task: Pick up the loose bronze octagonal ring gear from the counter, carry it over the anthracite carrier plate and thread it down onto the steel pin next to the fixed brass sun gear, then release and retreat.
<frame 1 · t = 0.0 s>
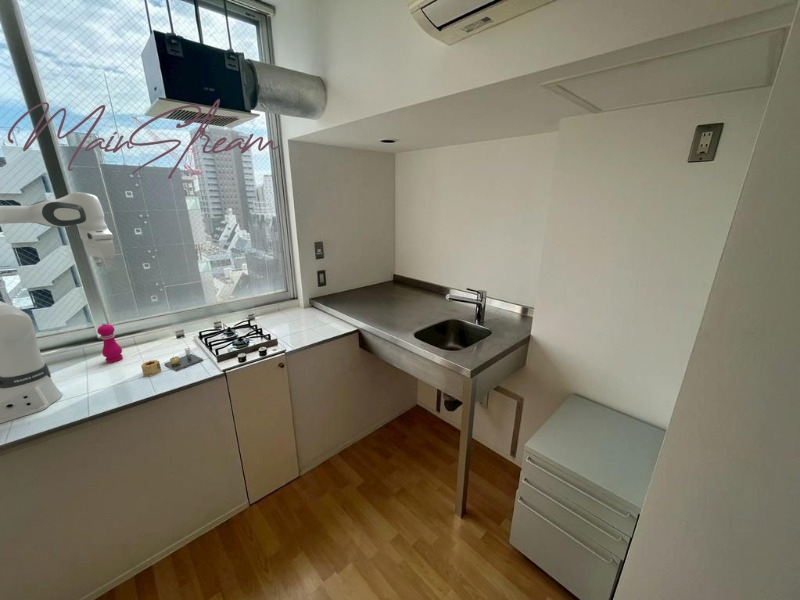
hand: (104, 267, 133), 48 cm above the worktop, fingers open, 8 cm apart
planet gear: (152, 372, 143), on the worktop
pepper mill: (114, 360, 155), on the worktop
carrier: (184, 362, 152), on the worktop
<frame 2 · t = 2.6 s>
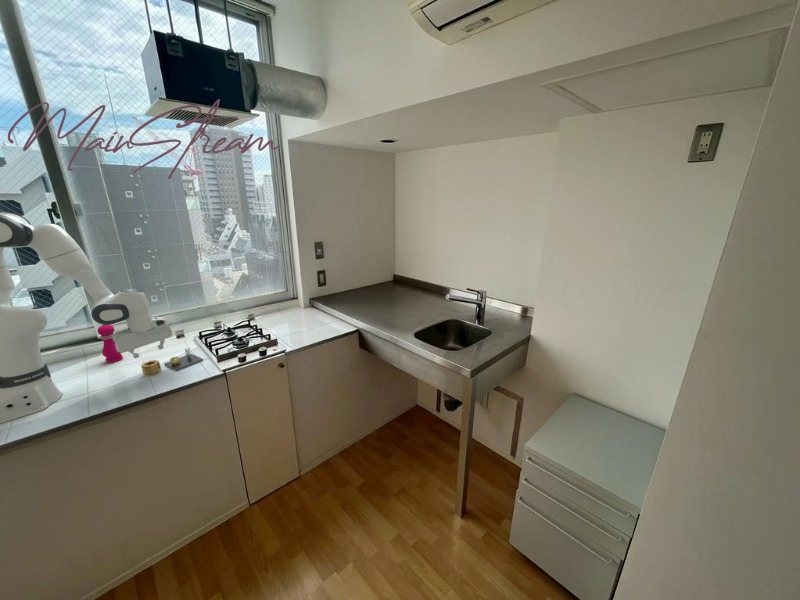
hand: (149, 353, 141), 9 cm above the worktop, fingers open, 8 cm apart
nothing on the worktop moved.
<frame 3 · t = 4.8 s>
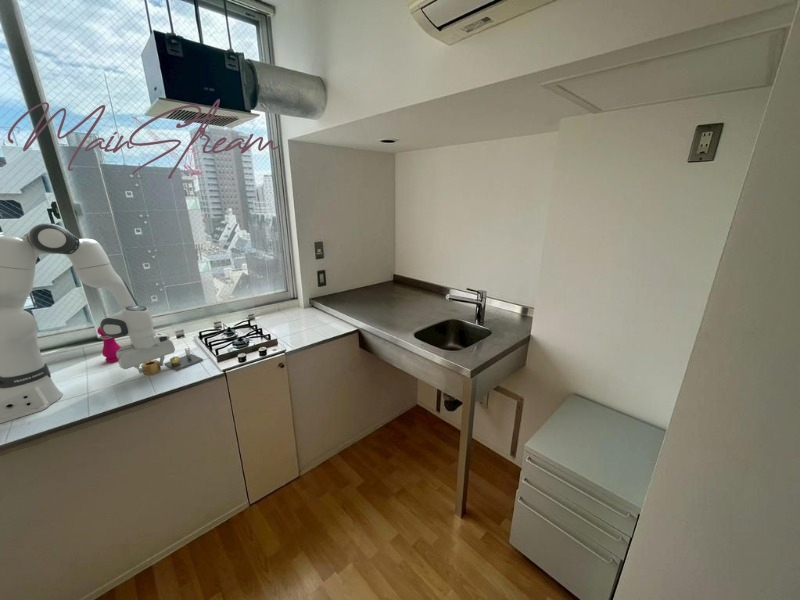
hand: (151, 369, 143), 2 cm above the worktop, fingers closed on planet gear, 6 cm apart
planet gear: (152, 372, 143), on the worktop, touching gripper
everything else where it was.
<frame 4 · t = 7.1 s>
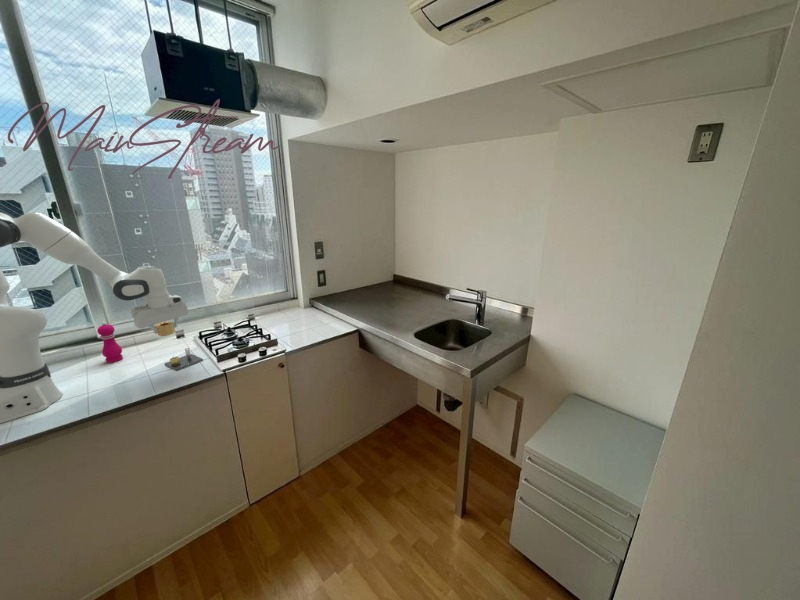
hand: (166, 330, 144), 18 cm above the worktop, fingers closed on planet gear, 6 cm apart
planet gear: (166, 333, 144), point 17 cm above the worktop, touching gripper
everything else where it was.
when the fingers open (4 cm above the worktop, at t = 9.6 s): planet gear stays where it is, point 2 cm above the worktop.
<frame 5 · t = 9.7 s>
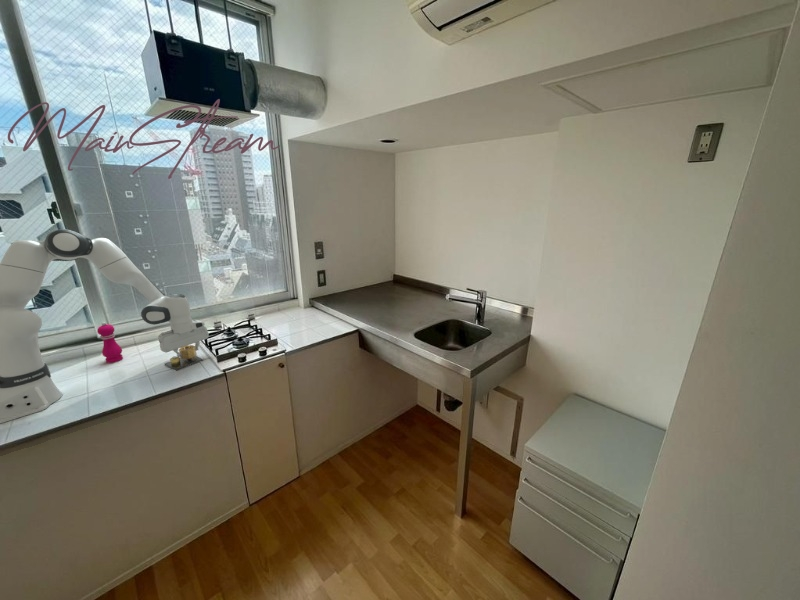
hand: (188, 353, 153), 4 cm above the worktop, fingers open, 6 cm apart
planet gear: (188, 356, 153), point 2 cm above the worktop
everything else where it was.
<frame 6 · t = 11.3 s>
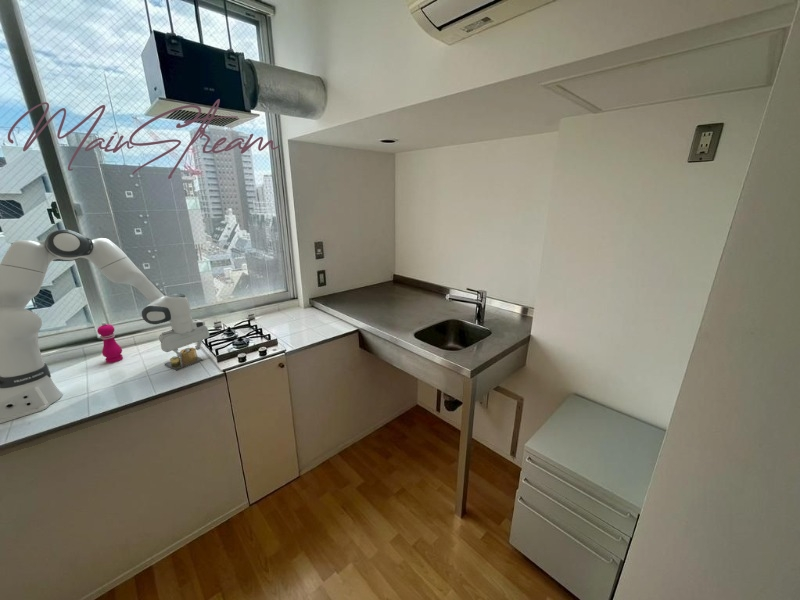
hand: (189, 352, 153), 4 cm above the worktop, fingers open, 7 cm apart
planet gear: (189, 358, 154), point 1 cm above the worktop, touching carrier
everything else where it was.
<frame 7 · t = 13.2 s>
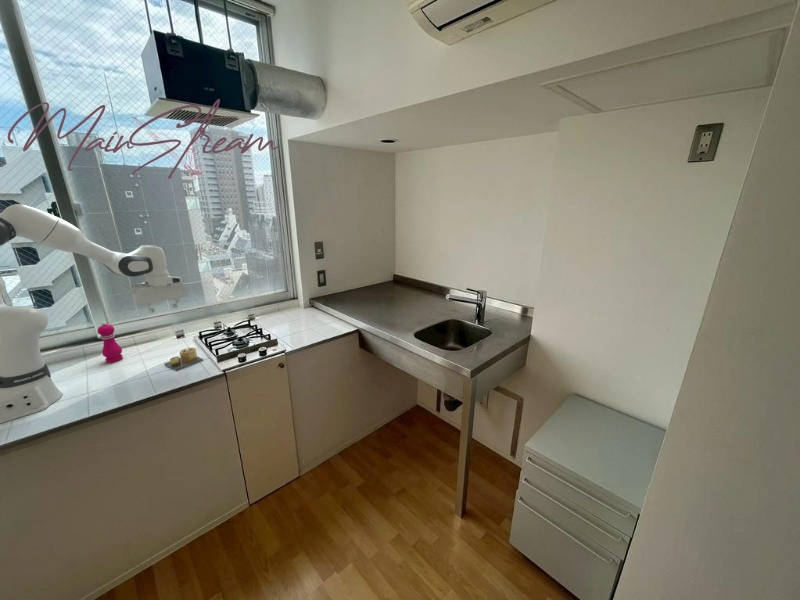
hand: (163, 309, 147), 26 cm above the worktop, fingers open, 8 cm apart
nothing on the worktop moved.
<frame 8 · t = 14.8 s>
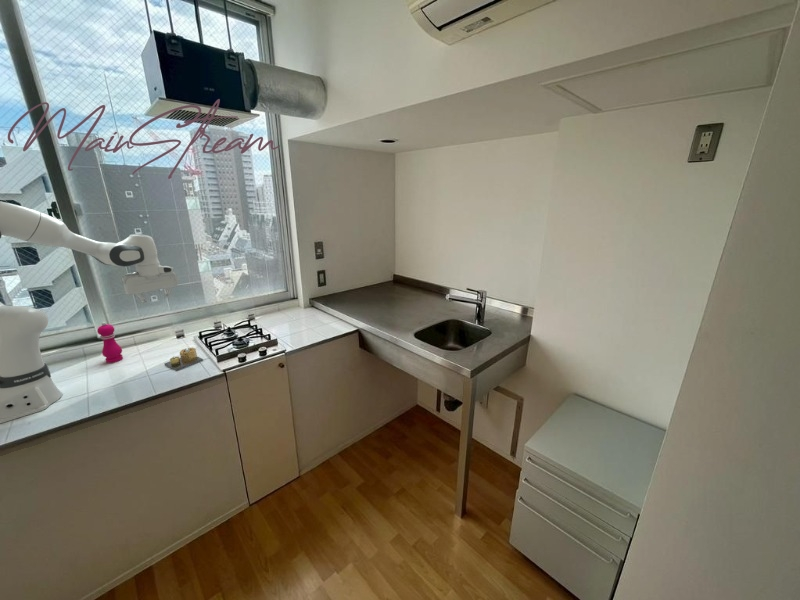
hand: (156, 299, 146), 31 cm above the worktop, fingers open, 8 cm apart
nothing on the worktop moved.
at the end: planet gear 0.2 cm from the target spot on the carrier, point 1.0 cm above the carrier's base; planet gear tilted 0°; the gripper is holding nothing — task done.
